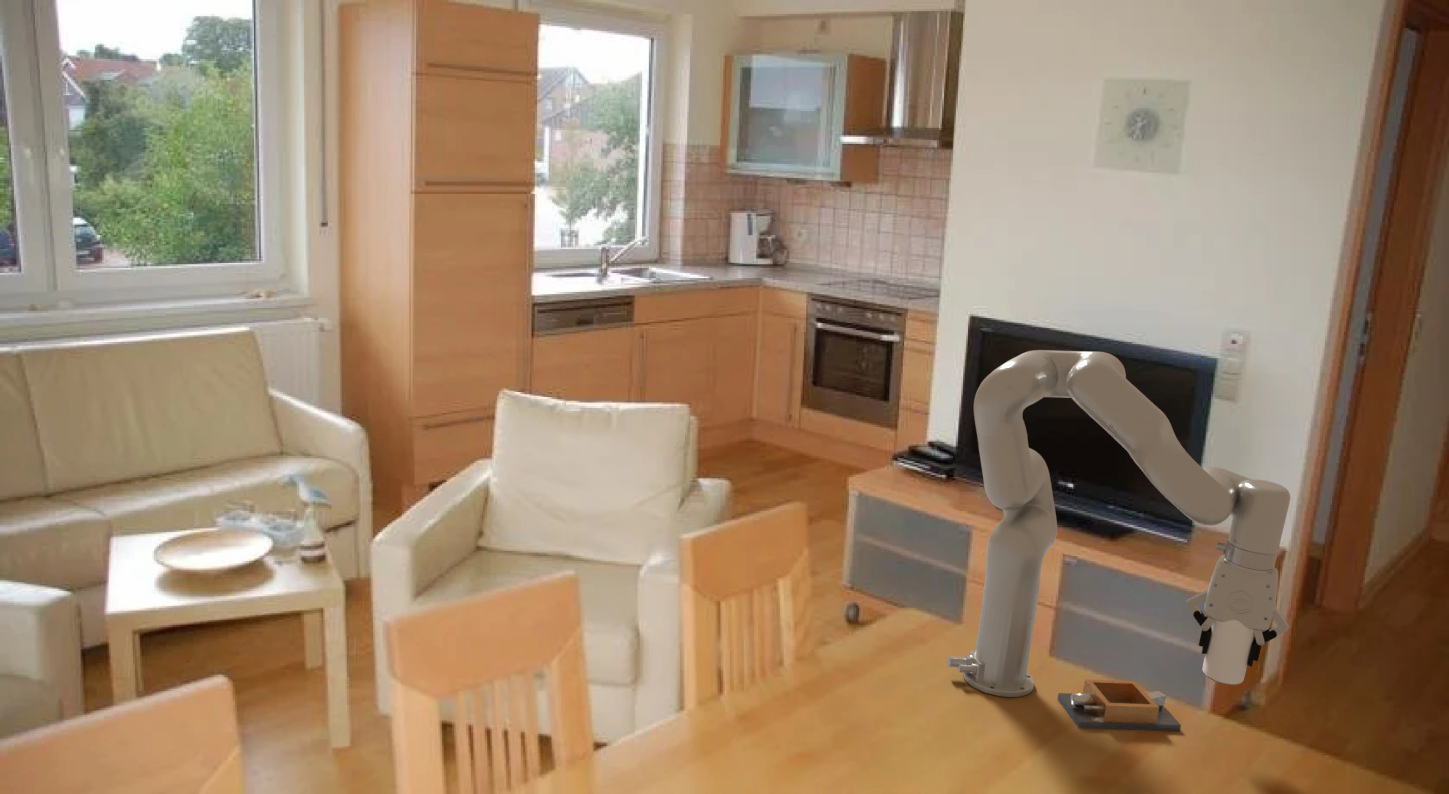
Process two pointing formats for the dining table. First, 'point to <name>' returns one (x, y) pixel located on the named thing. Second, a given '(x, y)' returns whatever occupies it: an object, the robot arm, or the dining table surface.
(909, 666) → the dining table surface
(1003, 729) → the dining table surface
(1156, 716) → the base
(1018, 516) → the robot arm
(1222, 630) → the can
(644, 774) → the dining table surface
